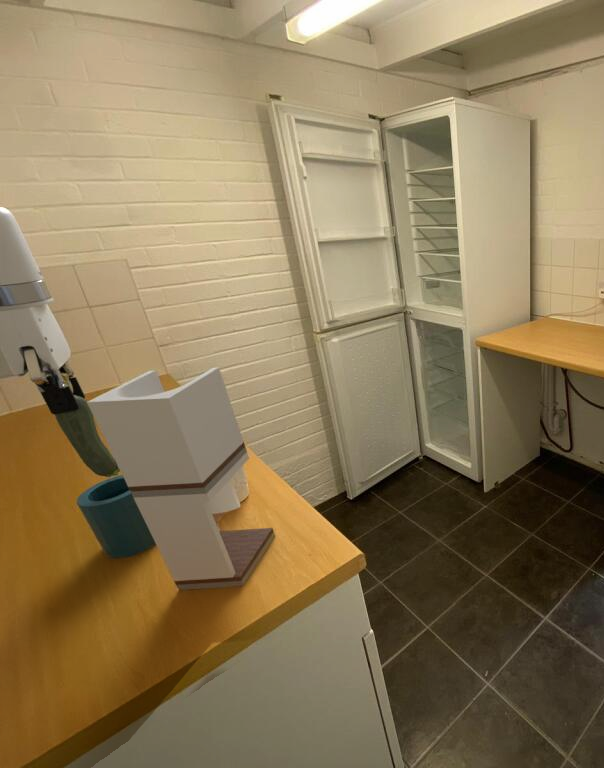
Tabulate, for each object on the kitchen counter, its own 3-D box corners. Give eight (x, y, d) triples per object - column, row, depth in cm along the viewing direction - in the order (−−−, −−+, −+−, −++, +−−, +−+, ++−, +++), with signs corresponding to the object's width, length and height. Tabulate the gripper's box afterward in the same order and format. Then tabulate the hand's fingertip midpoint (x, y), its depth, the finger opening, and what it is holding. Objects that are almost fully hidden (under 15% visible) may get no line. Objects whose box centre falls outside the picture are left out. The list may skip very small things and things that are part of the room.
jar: (96, 565, 75) (66, 513, 70) (116, 531, 83) (90, 481, 78) (162, 547, 79) (137, 496, 74) (174, 516, 87) (153, 467, 82)
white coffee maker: (243, 585, 70) (168, 398, 56) (178, 590, 70) (86, 402, 56) (275, 536, 80) (218, 367, 66) (218, 539, 80) (150, 370, 66)
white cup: (238, 483, 96) (225, 446, 92) (260, 492, 93) (247, 454, 89) (202, 503, 90) (187, 465, 86) (225, 514, 87) (209, 474, 83)
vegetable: (103, 487, 72) (49, 381, 64) (83, 484, 73) (27, 380, 65) (129, 472, 76) (80, 370, 68) (109, 470, 77) (59, 369, 69)
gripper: (-3, 291, 66) (51, 395, 73) (-50, 309, 53) (21, 433, 61) (62, 284, 70) (107, 384, 77) (32, 301, 57) (90, 418, 65)
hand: (69, 405), depth 69 cm, fingers closed on vegetable, 4 cm apart
